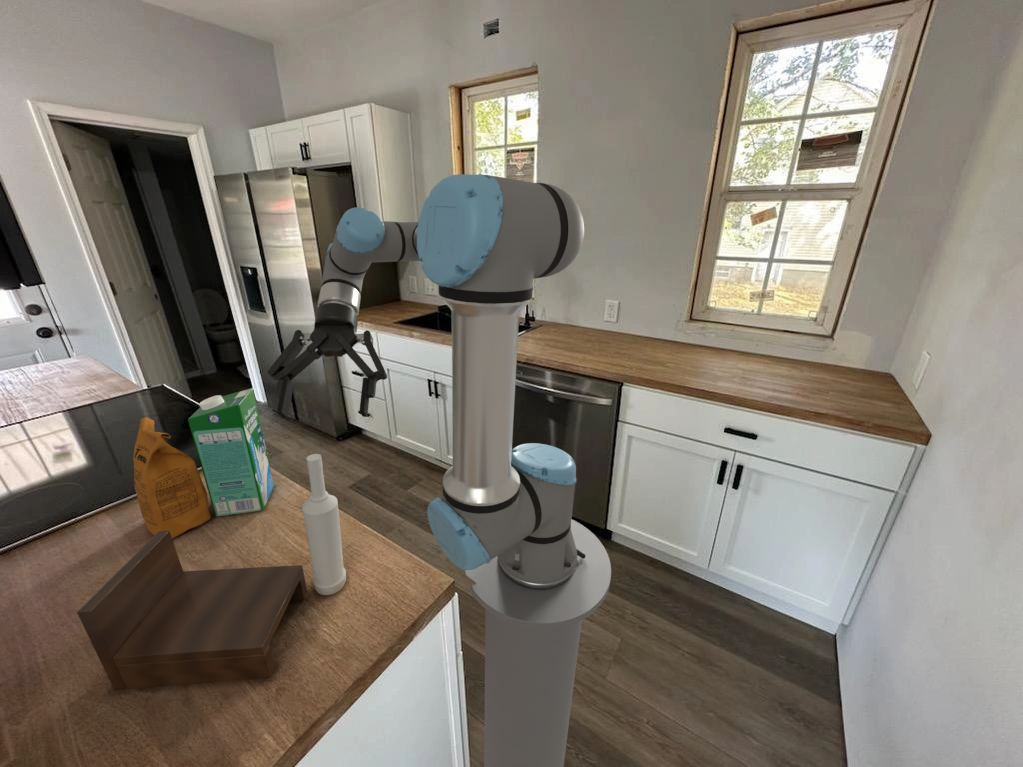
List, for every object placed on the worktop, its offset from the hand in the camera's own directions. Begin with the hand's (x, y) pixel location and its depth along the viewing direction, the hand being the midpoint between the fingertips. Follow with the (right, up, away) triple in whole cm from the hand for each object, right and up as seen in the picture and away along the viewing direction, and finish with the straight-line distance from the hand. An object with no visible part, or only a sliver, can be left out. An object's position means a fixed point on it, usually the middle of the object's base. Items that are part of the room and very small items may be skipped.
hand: (323, 415), depth 72 cm
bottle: (+2, -29, -1) cm, 29 cm away
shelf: (-10, -32, -10) cm, 35 cm away
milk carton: (-26, -21, +19) cm, 38 cm away
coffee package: (-35, -23, +13) cm, 44 cm away
